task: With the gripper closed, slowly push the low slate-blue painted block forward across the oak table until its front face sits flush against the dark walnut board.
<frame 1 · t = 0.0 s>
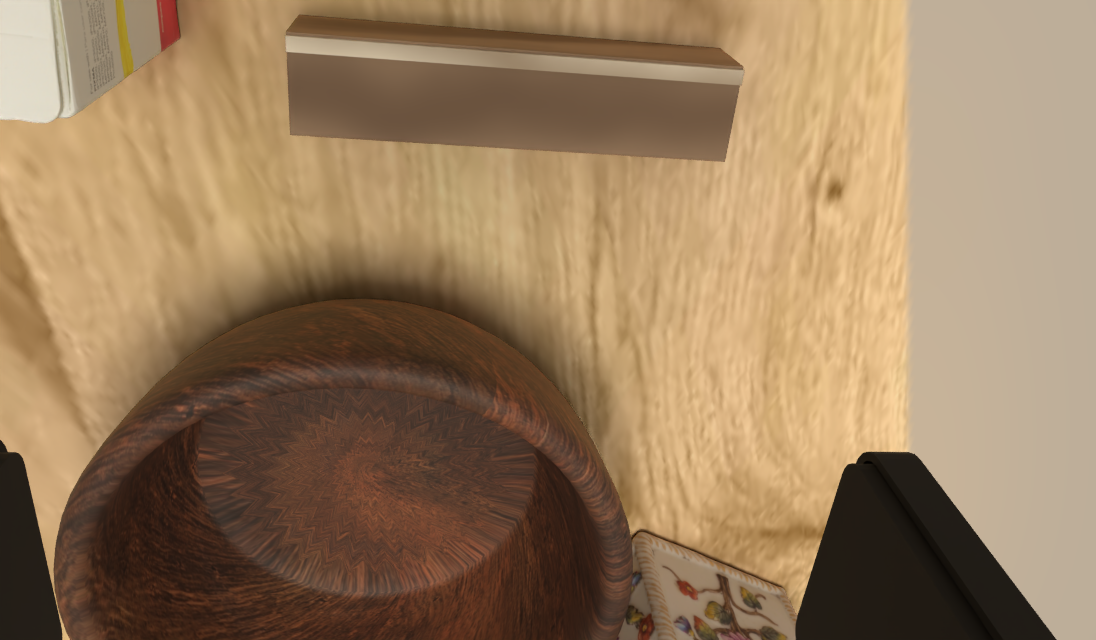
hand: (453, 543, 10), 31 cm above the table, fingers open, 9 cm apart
decorative jar: (661, 616, 56), on the table
board: (512, 79, 39), on the table
wooden bowl: (371, 459, 48), on the table
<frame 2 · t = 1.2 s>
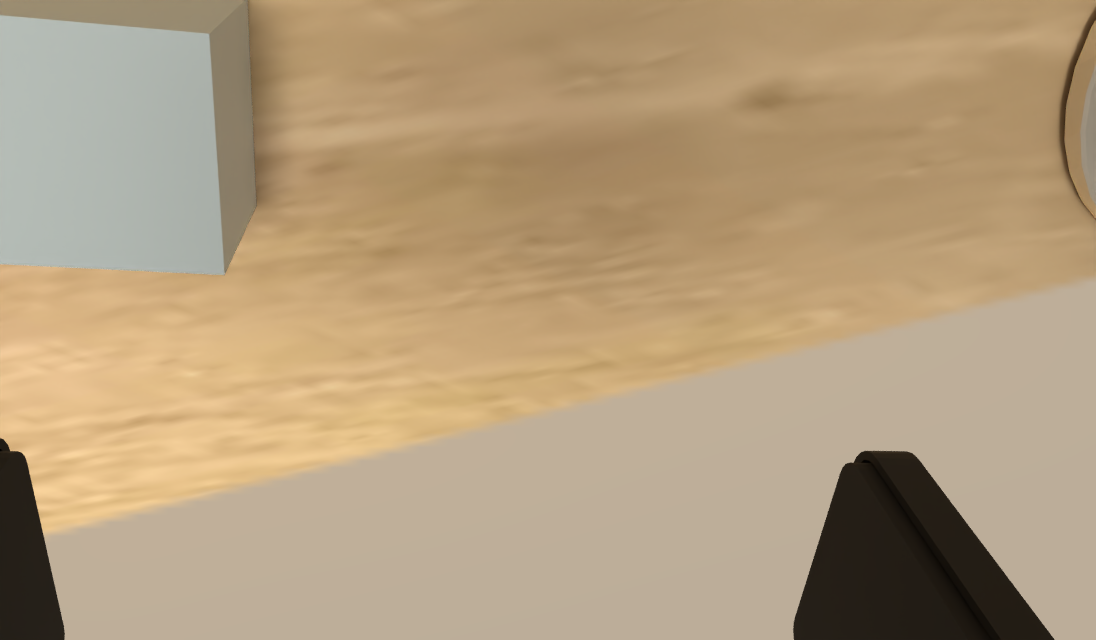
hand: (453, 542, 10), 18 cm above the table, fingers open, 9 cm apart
block: (105, 94, 25), on the table
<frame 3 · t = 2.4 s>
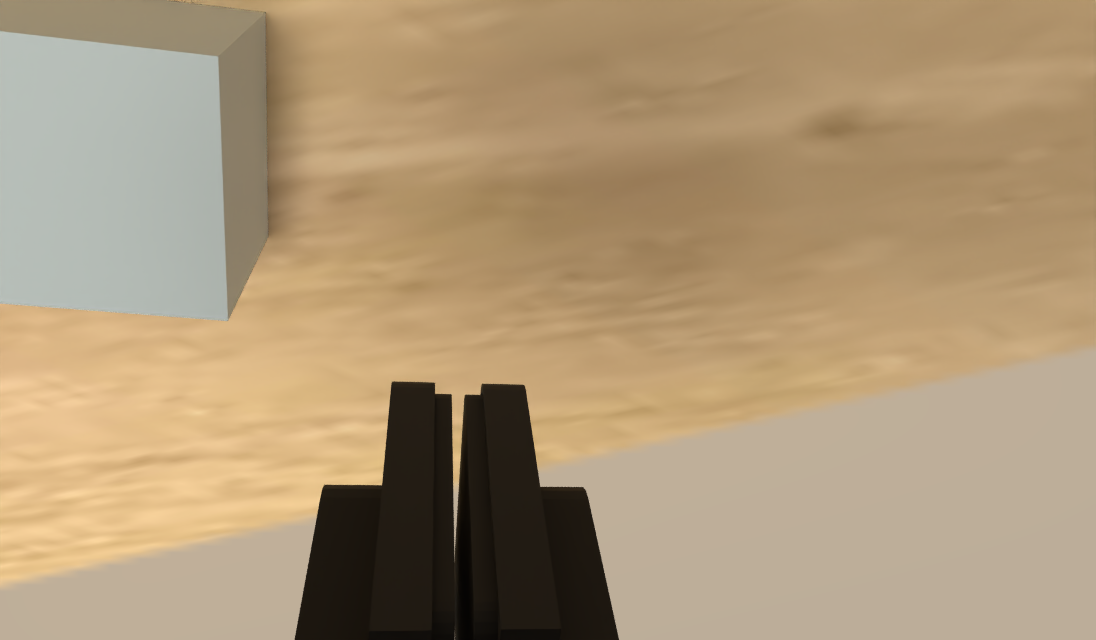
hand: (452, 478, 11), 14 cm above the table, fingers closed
block: (107, 112, 23), on the table
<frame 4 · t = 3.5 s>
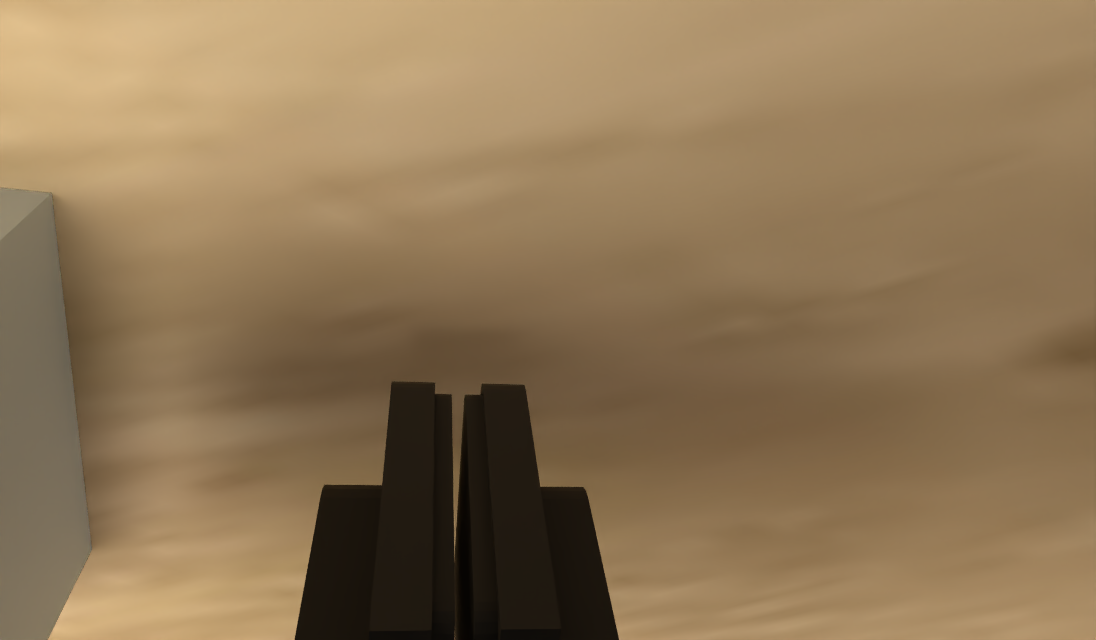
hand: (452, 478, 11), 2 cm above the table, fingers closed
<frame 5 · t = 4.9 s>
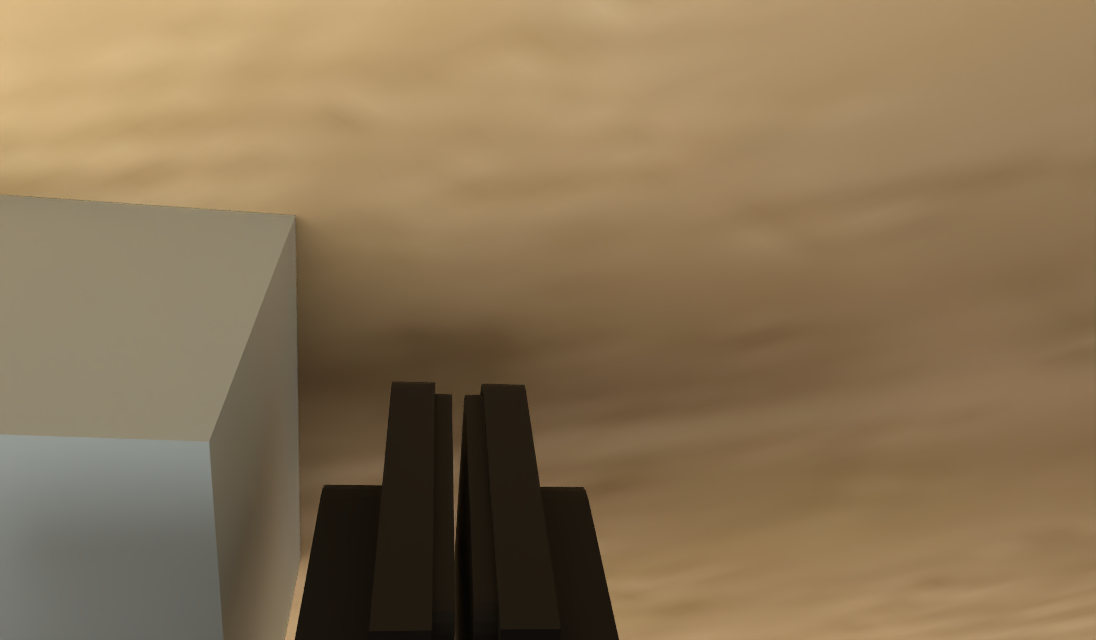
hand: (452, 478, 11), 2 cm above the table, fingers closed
block: (6, 391, 13), on the table, touching gripper
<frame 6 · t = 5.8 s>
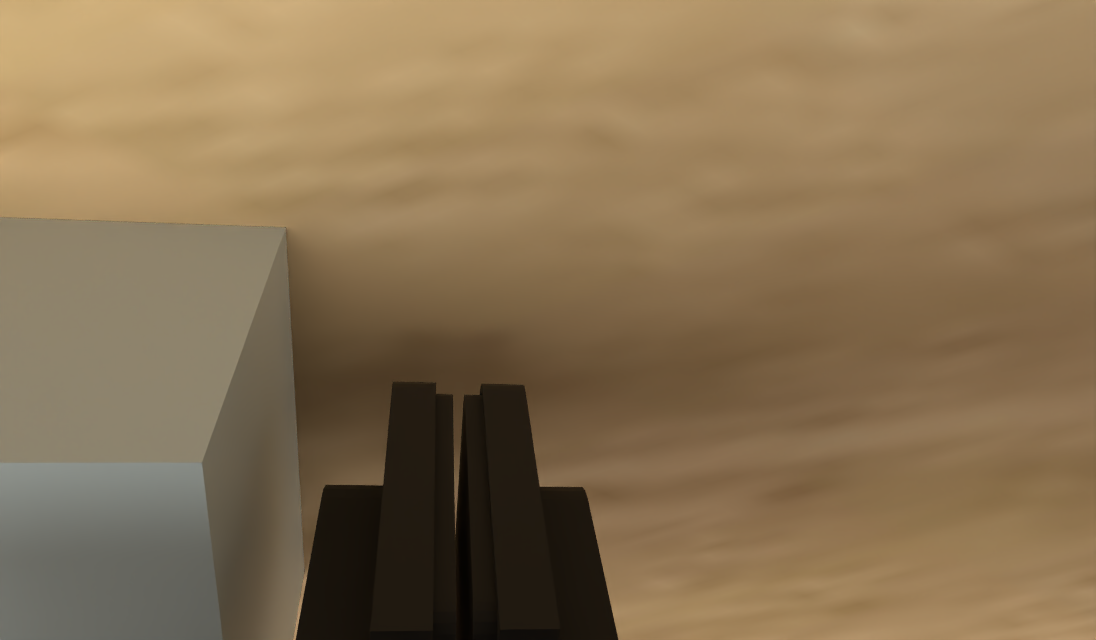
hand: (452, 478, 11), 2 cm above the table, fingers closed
block: (2, 413, 13), on the table, touching board, gripper
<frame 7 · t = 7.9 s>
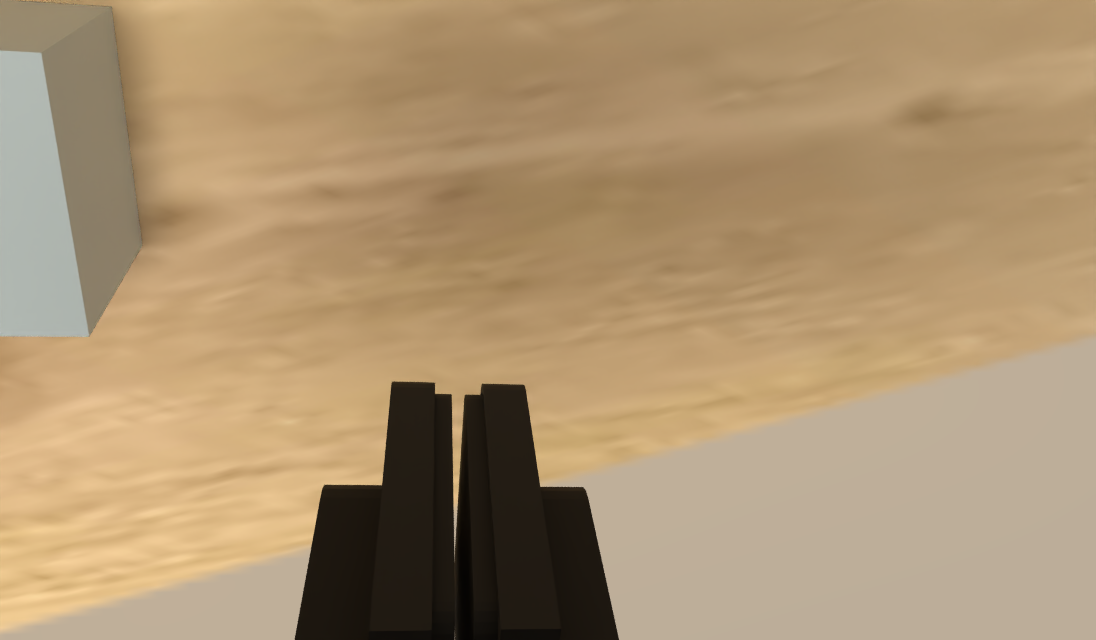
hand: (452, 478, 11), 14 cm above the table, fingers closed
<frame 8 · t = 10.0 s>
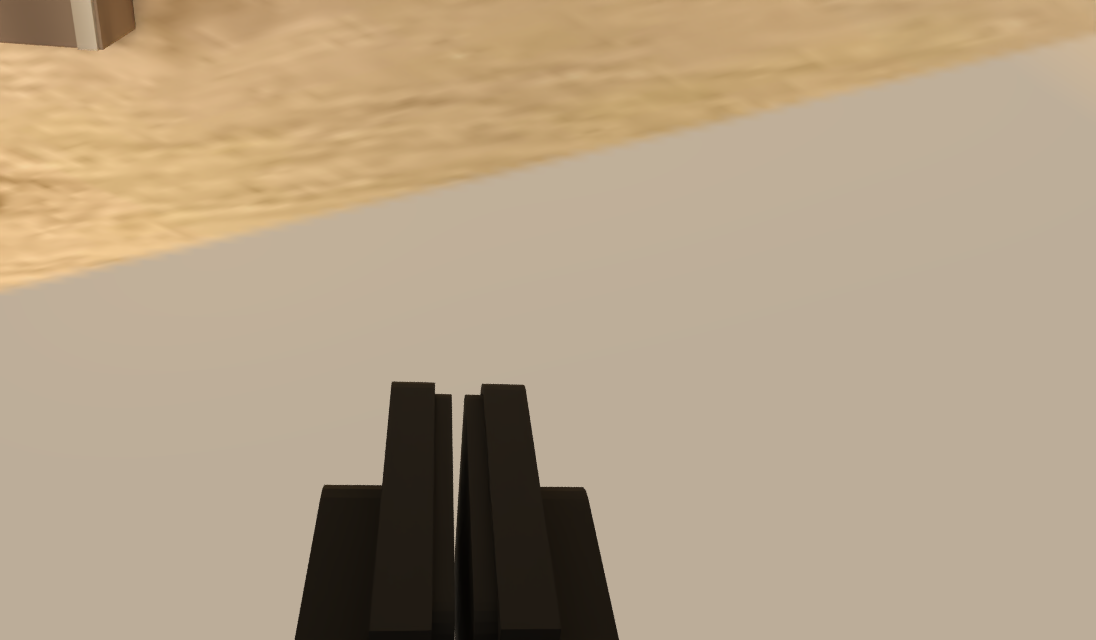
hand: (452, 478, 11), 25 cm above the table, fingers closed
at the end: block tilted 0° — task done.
